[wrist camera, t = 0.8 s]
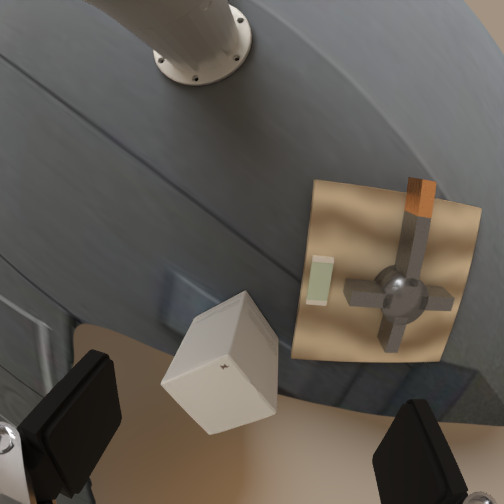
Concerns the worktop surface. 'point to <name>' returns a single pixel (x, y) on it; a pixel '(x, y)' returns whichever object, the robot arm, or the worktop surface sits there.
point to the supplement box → (226, 367)
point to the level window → (319, 280)
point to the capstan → (403, 273)
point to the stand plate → (371, 264)
